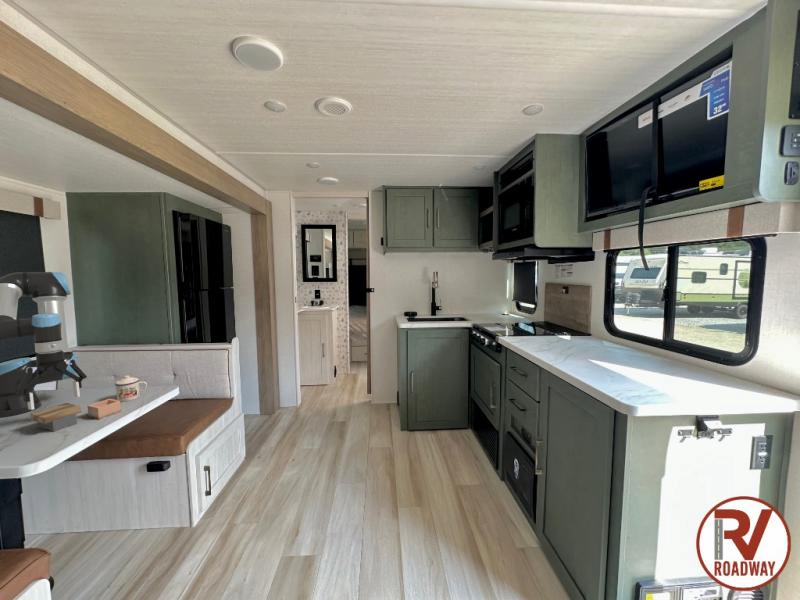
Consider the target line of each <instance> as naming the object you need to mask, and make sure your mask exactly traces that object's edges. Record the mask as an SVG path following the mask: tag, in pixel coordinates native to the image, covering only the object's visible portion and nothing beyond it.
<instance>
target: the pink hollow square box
mask: <svg viewBox="0 0 800 600" xmlns="http://www.w3.org/2000/svg"><path fill="white" fill-rule="evenodd" d="M121 404H122V403H121V402H120V401H118V400H117V399H113V398H107V399H104V400H100V401H97V402H93V403H91V404H88V405H87V414H88V418H92V417H93V419H96V420H102V419H104V417H105V418H108V417H111V416H113V415H116V414H119V413H121V412H122V407H121V406H122V405H121ZM101 418H102V419H101Z"/></svg>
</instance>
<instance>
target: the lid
mask: <svg viewBox="0 0 800 600" xmlns="http://www.w3.org/2000/svg"><path fill="white" fill-rule="evenodd" d="M82 412H83V411H82V406H80V405H77V404H72V403H68V402H66V403H62V404H58V405H55V406H52V407H48V408H44V409H41V410H38V411H34V412H31V413H30V420H31V421H35V422H37V423H38V422H40V423H44V424H47V423H50V422H53V421H56V420H59V419H62V418H65V417H68V416H72V415H75V414H76V415H77V414H81V413H82Z"/></svg>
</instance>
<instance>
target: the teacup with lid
mask: <svg viewBox="0 0 800 600" xmlns="http://www.w3.org/2000/svg"><path fill="white" fill-rule="evenodd" d="M140 384H143V385H144V384H145V385H144V388H142V389H140ZM114 385H115V392H116V400H118V401H120V403H121V402H130V401H133V400H134V401H135V400H137V399H138V398H139V397H140V396H141V395H140V392H143V391H145V390H147V386H148V383H147V382H146V381H140V379H139V378H137V377H133V376H132V377H131V376H130V375H128V374H126V375H124V376H123V378H121V379H119V380H117V381H116V382H115V384H114Z"/></svg>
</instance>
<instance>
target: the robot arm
mask: <svg viewBox="0 0 800 600" xmlns="http://www.w3.org/2000/svg"><path fill="white" fill-rule="evenodd" d="M67 279H68V278H67V276H66V274H65V273H63V272H61V271H60V272H59V271H57V272H55V271H32V272H31V271H29V272H26V271H25V272H22V271H21V272H20V271H19V272H18V271H17V272H13V273H9V274H8V273H7V274H6V275H3V276H1V277H0V340H9V339H17V338H26V337H27V338H29V337H30V338H31V337H33V339H34V349H35V353H36V354H35V359H33V360H32V359H31V357H20V358H16V359H11V360H7V361H3V362H0V418H5V417H6V418H7V417H11V416H15V415H21V414H24V413H27V412H28V413H29V412H31V411H34V410H36V409H38V408H41V406H43V405H42V403H43V402H42V399H41V398H40V396H39V394H37V393H36V391H35V387H36V386H37V385H41V384H47V383H52V382H53V383H54V382H59V381H65V380H69V379H72V380H73V381H72V387H73V396H74V397H76V398H80V397H81V394H80V389H82V386H83V385H82V381H83V380H84V379H87V378H88V377H87V374H86V373H84V372H83V370H82V369H81V367H79V365H78V364H77V361H78V354H77V353H74V352H73V350H72V349H69V348H68V345H69V344H68V337H67V326H66V317H65V308H64V307H65V306H64V301H66V300H67V299H68V296H69V295H71V290H70V285H69V283H68V280H67ZM21 297H31V300H32V301H34V302H35V303H37V312H38V314H34V315H32V317H30V318H18V319H17V316H18V307H19V305H18V303H19V299H20V298H21ZM76 374H77V375H76Z"/></svg>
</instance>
